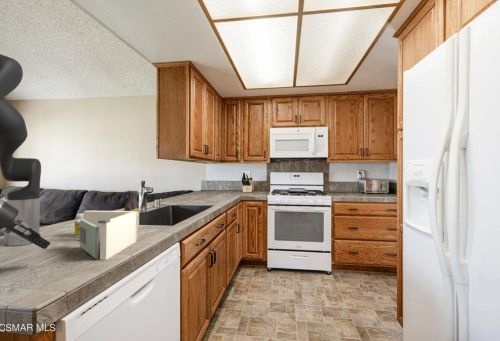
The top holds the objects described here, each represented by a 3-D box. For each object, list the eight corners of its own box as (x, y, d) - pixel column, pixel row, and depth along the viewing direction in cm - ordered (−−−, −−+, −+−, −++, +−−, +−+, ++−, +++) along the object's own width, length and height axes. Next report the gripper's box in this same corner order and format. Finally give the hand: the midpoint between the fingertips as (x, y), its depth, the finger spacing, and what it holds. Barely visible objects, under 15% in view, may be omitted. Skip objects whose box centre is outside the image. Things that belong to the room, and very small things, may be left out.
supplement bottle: (89, 233, 105) (90, 212, 105) (89, 236, 101) (89, 214, 101) (75, 235, 102) (75, 213, 102) (74, 238, 98) (74, 215, 98)
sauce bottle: (132, 237, 101) (133, 191, 101) (119, 236, 102) (120, 190, 102) (142, 233, 107) (142, 190, 107) (130, 232, 108) (130, 189, 108)
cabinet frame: (38, 259, 75) (38, 219, 75) (86, 239, 97) (86, 208, 97) (105, 260, 75) (105, 220, 75) (138, 240, 96) (138, 209, 96)
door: (79, 246, 86) (79, 219, 86) (83, 245, 87) (83, 219, 87) (94, 259, 75) (94, 227, 75) (99, 257, 76) (99, 227, 76)
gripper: (10, 201, 59) (67, 238, 69) (-6, 198, 66) (48, 232, 76) (-22, 226, 54) (44, 262, 65) (-35, 220, 61) (27, 253, 72)
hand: (46, 245), depth 70 cm, fingers closed
